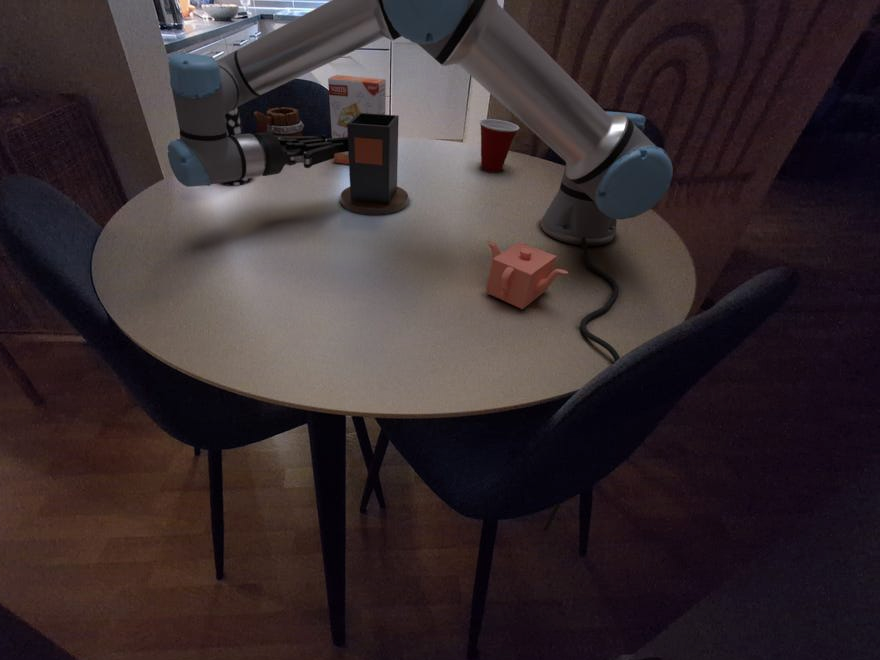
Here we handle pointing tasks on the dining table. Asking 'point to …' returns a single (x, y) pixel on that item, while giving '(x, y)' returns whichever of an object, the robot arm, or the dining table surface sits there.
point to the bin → (373, 157)
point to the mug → (280, 122)
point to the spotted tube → (234, 129)
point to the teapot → (520, 273)
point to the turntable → (370, 208)
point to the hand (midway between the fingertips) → (351, 143)
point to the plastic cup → (495, 143)
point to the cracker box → (353, 103)
